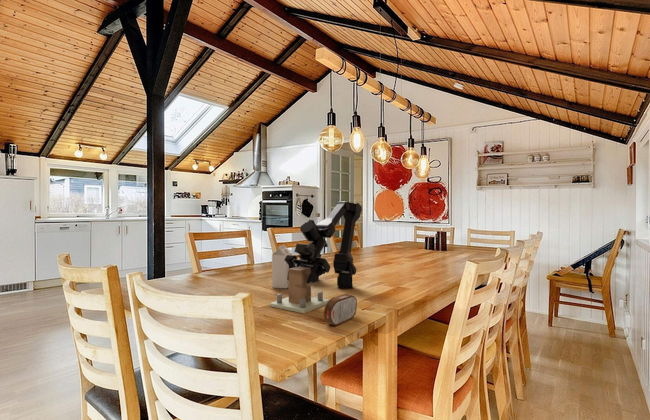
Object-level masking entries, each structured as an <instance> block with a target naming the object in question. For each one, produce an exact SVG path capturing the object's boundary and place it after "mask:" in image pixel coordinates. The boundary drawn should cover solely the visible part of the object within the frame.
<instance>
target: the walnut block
mask: <svg viewBox="0 0 650 420" xmlns="http://www.w3.org/2000/svg"><path fill="white" fill-rule="evenodd" d="M310 273H311V268H307V267H294V268H290V269H289V287H288V297H289V302H291V303H296V304H300V298H305V299H306V303H307V302H309V301H311V297H312V282H310V283H309V284H308V283H307V280H308V277H309V275H310Z"/></svg>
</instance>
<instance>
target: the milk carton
mask: <svg viewBox="0 0 650 420" xmlns="http://www.w3.org/2000/svg"><path fill="white" fill-rule="evenodd" d="M287 255H293V253H292V252H291V251H290V250H289V248H287V247H286V244H282V245H279V246H278V249H277V250H275V251H274V252H273V253H272V254H271V288H275V289H289V281H288V280H287V277H288V270H289V265H288V264H287V263H286V261H285V260H284V259H285V258H286V256H287Z"/></svg>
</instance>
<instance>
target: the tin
mask: <svg viewBox="0 0 650 420" xmlns="http://www.w3.org/2000/svg"><path fill="white" fill-rule="evenodd" d="M328 300H329V301H328V302H327V304H325V305H324V310H323V319H324V321H325V323H326V324H329V325H332V326H338V325H340V324H343V323H345V322H348V321H349V320H352V319H353V318H354V316H355V315H356V313H357V308H358V300H357V298H356V296H355V295H353V294H349V293H344V294H341V295H340V294H339V295H337V296H334V297H331V298H329V299H328Z"/></svg>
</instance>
